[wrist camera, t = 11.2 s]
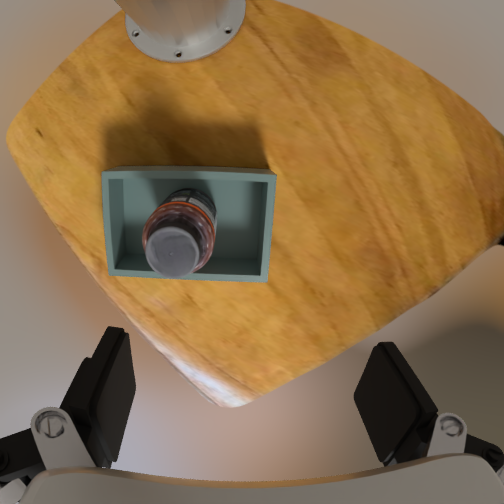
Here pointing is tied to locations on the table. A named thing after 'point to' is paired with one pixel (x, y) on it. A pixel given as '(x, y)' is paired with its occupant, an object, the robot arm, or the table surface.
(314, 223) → the table surface
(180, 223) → the supplement bottle
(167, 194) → the box
